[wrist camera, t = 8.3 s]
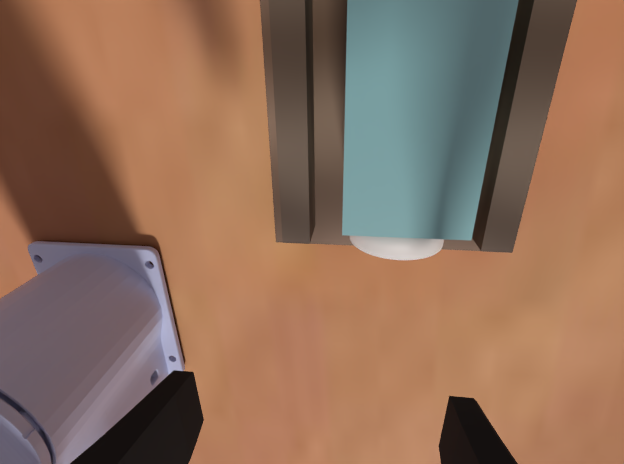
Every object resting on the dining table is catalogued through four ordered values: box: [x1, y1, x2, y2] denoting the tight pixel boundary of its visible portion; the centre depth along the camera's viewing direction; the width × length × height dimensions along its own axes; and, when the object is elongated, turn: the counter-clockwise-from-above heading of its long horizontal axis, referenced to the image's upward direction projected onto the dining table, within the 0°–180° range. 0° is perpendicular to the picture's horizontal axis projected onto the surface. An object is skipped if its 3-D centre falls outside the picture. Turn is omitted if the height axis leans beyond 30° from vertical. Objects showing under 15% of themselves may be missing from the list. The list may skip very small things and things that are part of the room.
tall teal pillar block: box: [342, 0, 519, 260], centre depth 11 cm, size 12×4×5 cm, turn 1°
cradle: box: [260, 0, 577, 253], centre depth 13 cm, size 16×11×3 cm
